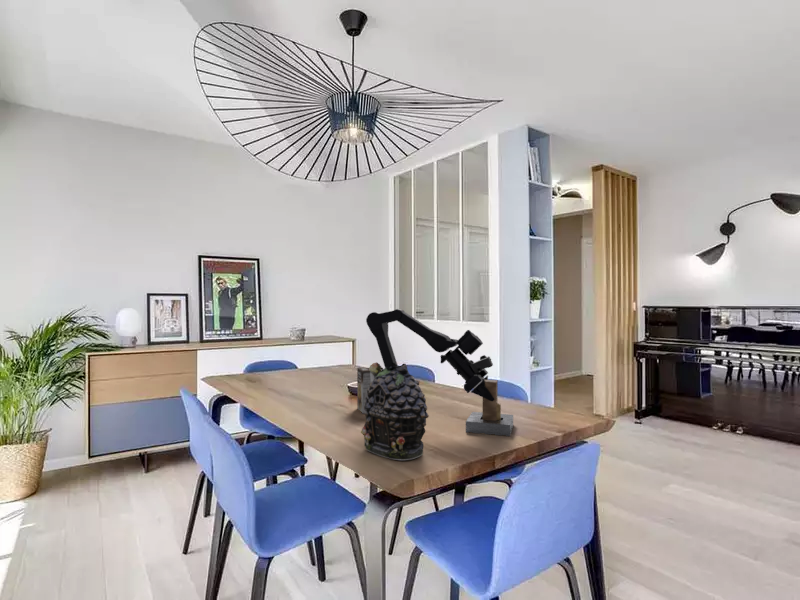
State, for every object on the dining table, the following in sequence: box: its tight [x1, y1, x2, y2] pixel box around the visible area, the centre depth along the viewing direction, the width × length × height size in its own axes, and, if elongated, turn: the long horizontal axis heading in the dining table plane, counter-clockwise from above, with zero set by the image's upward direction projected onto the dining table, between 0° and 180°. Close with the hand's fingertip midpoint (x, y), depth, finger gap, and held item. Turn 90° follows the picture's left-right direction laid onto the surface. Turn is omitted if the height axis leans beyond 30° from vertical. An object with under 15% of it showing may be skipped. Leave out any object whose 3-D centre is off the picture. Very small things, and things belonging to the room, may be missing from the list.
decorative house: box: [360, 362, 430, 461], centre depth 125 cm, size 21×15×25 cm
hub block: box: [465, 411, 514, 437], centre depth 149 cm, size 14×14×4 cm
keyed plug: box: [482, 379, 502, 421], centre depth 149 cm, size 6×4×12 cm
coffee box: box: [356, 367, 371, 414], centre depth 174 cm, size 9×6×16 cm
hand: (494, 399), depth 149 cm, fingers closed on keyed plug, 4 cm apart
